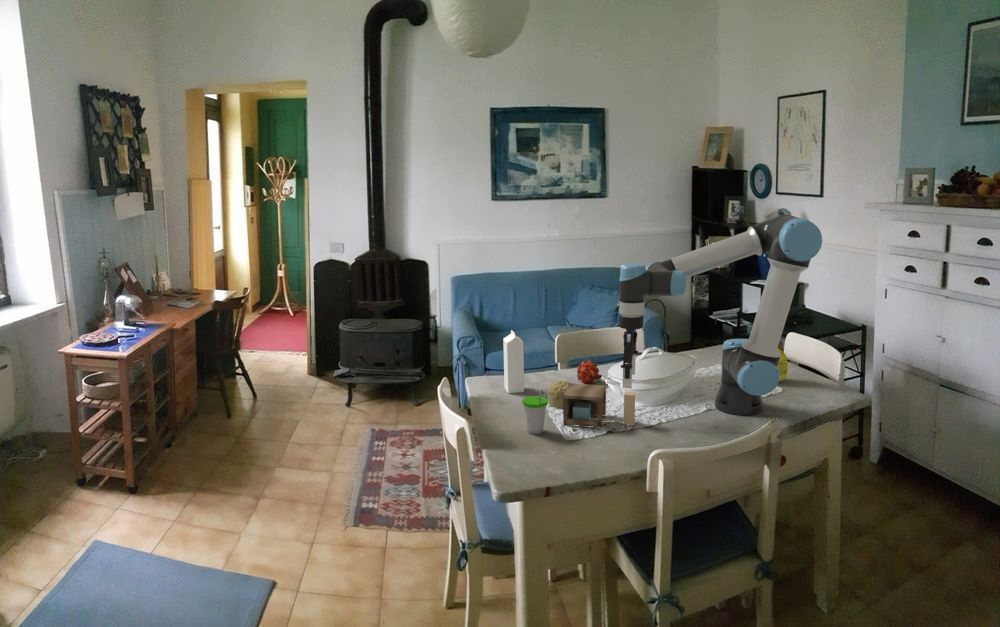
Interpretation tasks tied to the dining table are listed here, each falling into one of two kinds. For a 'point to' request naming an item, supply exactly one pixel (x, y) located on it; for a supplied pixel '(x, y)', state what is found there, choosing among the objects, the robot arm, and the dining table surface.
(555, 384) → the decorative item
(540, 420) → the cup
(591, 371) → the dragon fruit
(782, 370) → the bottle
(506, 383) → the milk
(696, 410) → the dining table surface
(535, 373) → the dining table surface
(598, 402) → the brown wooden box
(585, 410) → the tethered block
